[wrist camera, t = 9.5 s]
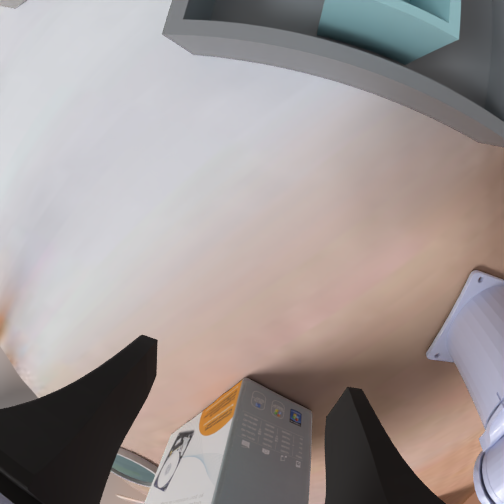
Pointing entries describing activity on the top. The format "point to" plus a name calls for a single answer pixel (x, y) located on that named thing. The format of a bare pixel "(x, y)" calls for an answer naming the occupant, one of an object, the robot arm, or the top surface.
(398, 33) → the teal mini crate
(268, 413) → the hard drive box
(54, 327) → the top surface
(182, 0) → the grey crate
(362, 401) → the robot arm
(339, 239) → the top surface
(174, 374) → the top surface
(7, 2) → the padlock
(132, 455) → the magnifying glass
